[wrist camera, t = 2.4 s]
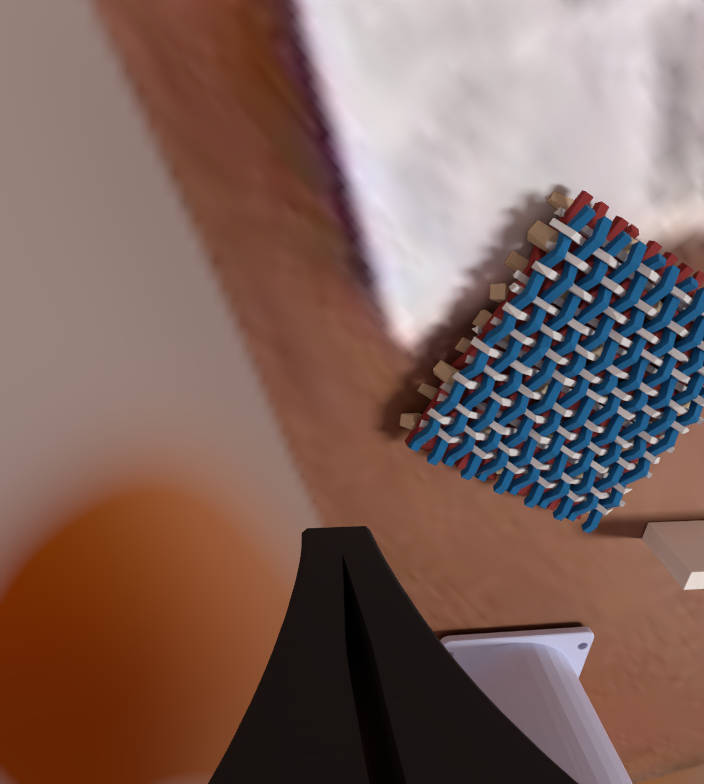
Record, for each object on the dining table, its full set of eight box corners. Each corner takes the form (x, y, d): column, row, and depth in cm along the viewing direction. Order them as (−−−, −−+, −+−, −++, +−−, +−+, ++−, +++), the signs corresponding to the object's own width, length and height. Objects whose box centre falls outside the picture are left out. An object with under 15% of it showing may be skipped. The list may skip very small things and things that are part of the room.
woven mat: (755, 313, 21) (799, 333, 19) (577, 510, 25) (600, 542, 23) (556, 170, 18) (587, 177, 16) (384, 423, 21) (394, 452, 20)
